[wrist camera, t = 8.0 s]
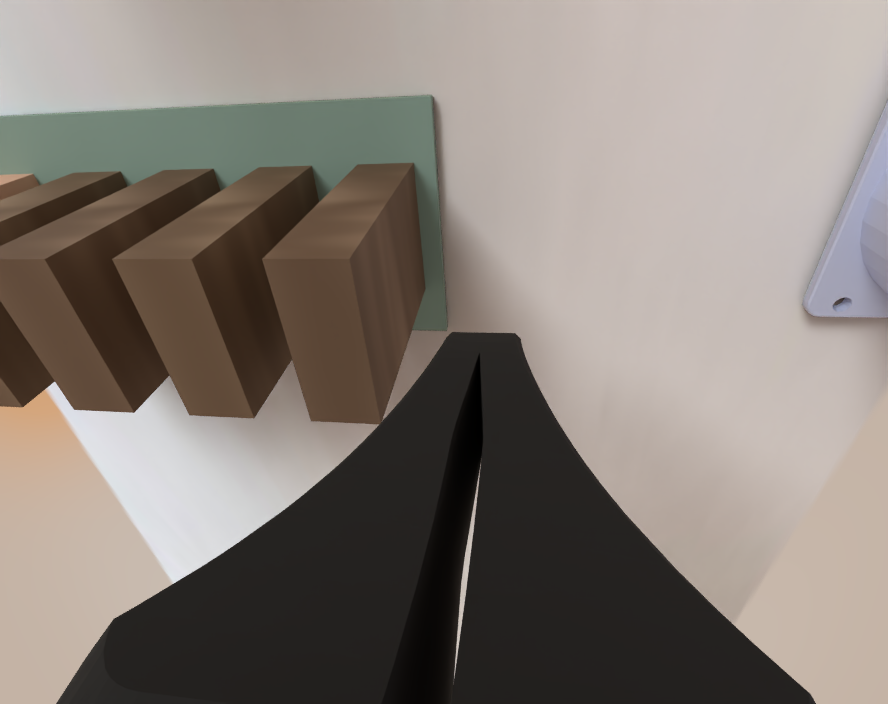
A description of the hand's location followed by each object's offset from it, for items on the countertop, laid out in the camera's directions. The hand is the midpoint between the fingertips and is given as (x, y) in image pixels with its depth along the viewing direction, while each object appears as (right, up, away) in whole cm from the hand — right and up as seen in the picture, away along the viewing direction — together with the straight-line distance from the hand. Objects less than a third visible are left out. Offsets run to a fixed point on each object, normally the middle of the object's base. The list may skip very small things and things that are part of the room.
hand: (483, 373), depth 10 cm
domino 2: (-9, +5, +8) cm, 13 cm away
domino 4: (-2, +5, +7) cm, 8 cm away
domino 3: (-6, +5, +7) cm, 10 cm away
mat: (-9, +5, +8) cm, 13 cm away
